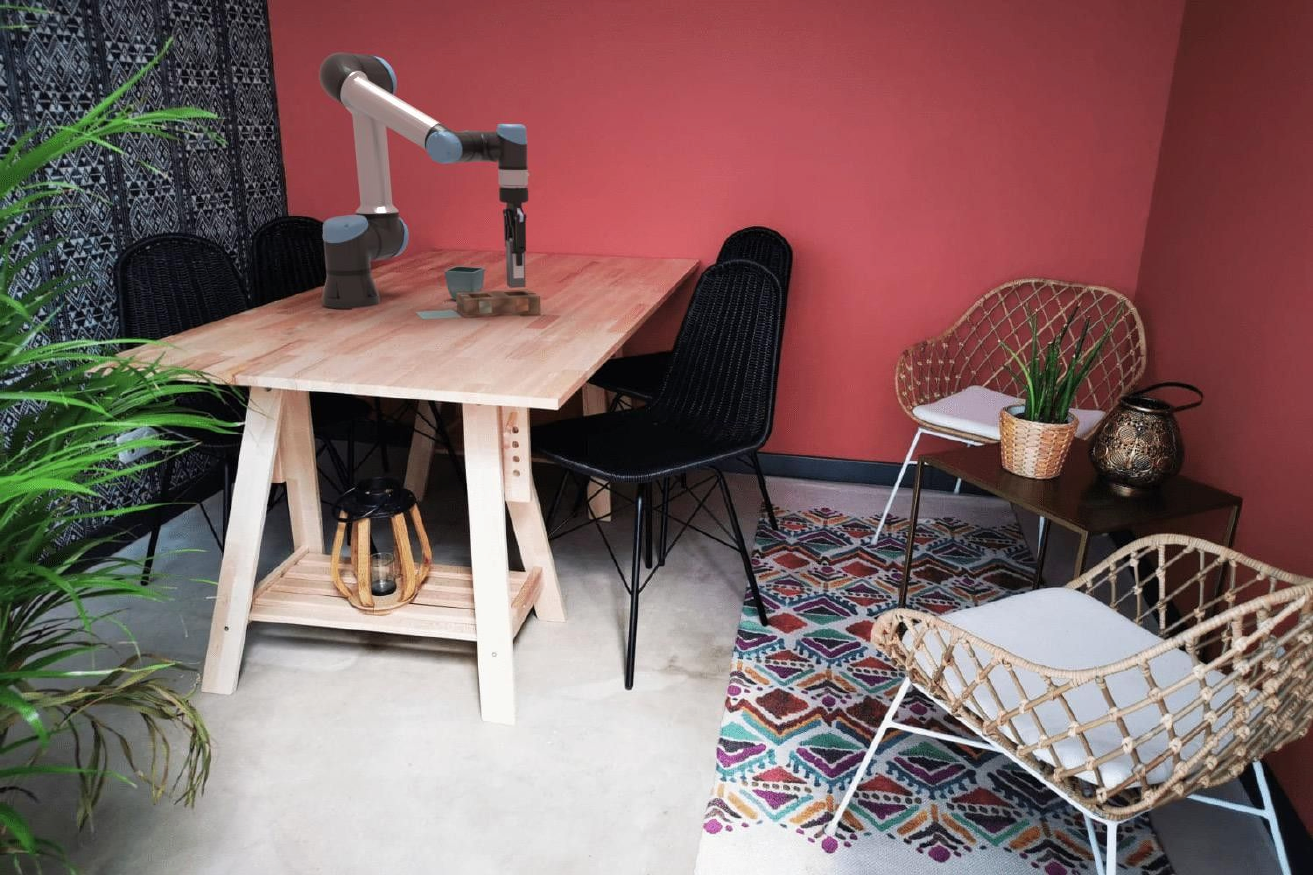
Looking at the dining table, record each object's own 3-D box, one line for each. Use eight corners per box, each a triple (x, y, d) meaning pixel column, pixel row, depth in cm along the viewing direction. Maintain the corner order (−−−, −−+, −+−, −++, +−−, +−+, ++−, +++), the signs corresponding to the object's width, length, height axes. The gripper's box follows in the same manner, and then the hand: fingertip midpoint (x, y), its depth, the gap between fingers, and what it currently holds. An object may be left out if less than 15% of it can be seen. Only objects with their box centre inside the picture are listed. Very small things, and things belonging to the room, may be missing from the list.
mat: (422, 321, 241) (422, 319, 241) (415, 313, 250) (415, 312, 249) (461, 318, 245) (461, 317, 245) (452, 311, 254) (452, 309, 253)
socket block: (466, 319, 244) (466, 299, 242) (456, 311, 254) (456, 292, 252) (540, 314, 252) (540, 295, 250) (528, 307, 262) (528, 288, 260)
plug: (511, 287, 250) (509, 239, 246) (507, 285, 253) (505, 238, 249) (525, 287, 252) (524, 239, 247) (521, 284, 255) (520, 237, 251)
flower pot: (474, 304, 264) (473, 272, 261) (445, 302, 265) (443, 270, 262) (486, 298, 272) (485, 267, 269) (457, 297, 273) (456, 266, 270)
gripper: (537, 188, 238) (539, 281, 246) (518, 184, 253) (520, 271, 260) (508, 189, 235) (511, 282, 243) (490, 184, 250) (493, 272, 257)
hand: (516, 276), depth 252 cm, fingers closed on plug, 4 cm apart
